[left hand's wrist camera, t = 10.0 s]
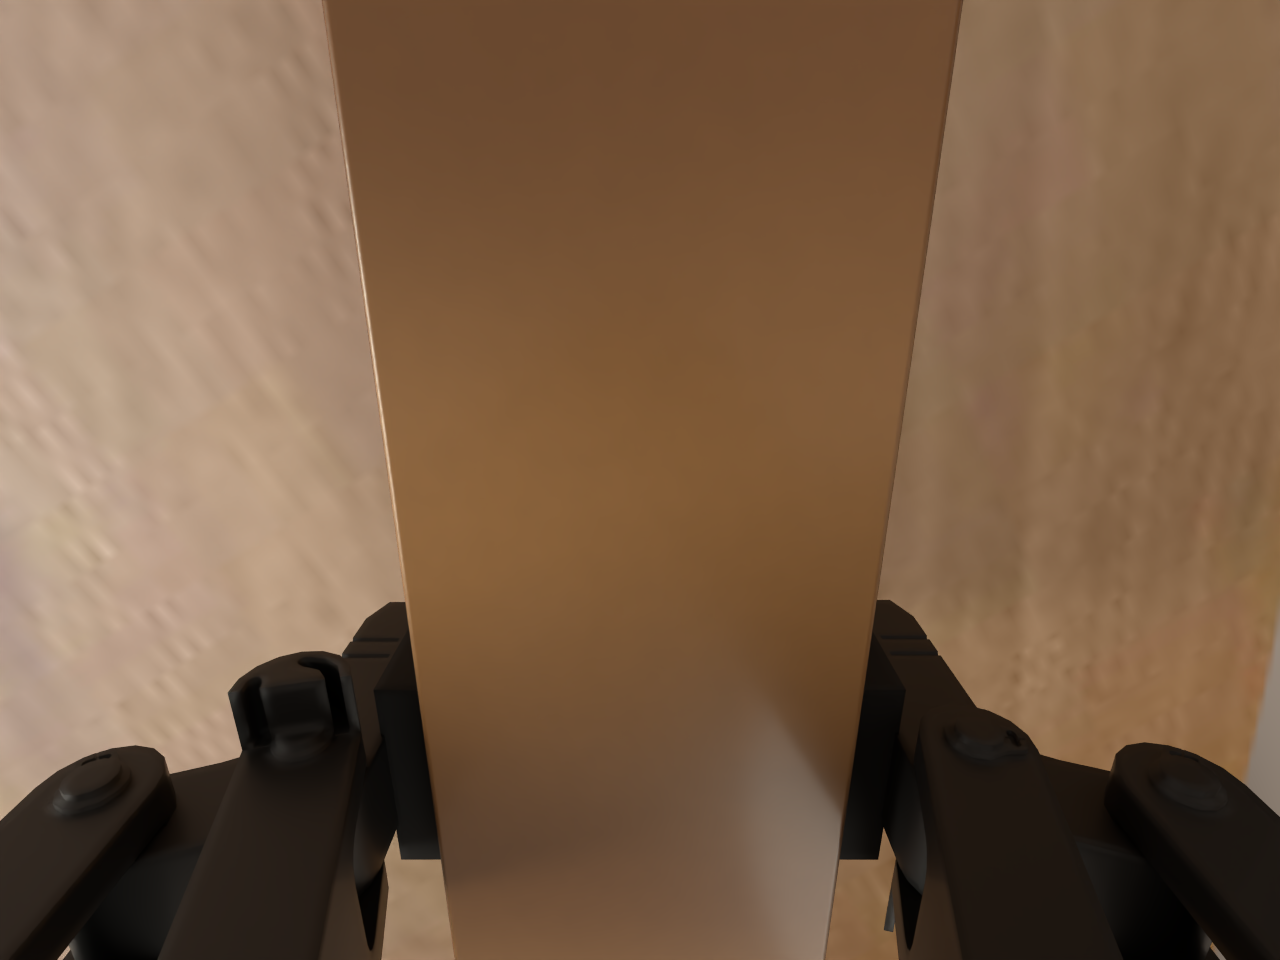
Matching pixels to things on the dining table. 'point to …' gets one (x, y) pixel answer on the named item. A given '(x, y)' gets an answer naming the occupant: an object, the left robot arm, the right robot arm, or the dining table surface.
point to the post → (641, 437)
